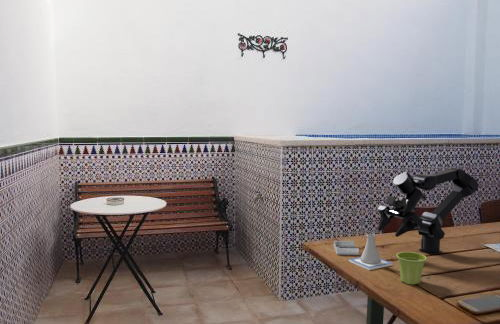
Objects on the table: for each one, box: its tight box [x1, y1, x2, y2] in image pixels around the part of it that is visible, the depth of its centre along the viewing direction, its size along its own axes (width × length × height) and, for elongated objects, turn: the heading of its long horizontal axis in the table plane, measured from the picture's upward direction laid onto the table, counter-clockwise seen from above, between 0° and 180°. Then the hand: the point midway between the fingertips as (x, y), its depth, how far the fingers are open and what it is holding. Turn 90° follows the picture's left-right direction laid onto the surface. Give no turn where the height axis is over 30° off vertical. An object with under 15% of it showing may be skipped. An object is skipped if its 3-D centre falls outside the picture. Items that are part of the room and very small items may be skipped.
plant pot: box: [396, 251, 427, 285], centre depth 154 cm, size 9×9×9 cm
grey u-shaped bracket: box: [333, 240, 360, 256], centre depth 189 cm, size 8×11×3 cm
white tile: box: [348, 256, 393, 271], centre depth 173 cm, size 11×11×1 cm
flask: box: [360, 233, 382, 264], centre depth 173 cm, size 7×7×10 cm
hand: (387, 233), depth 176 cm, fingers open, 9 cm apart
